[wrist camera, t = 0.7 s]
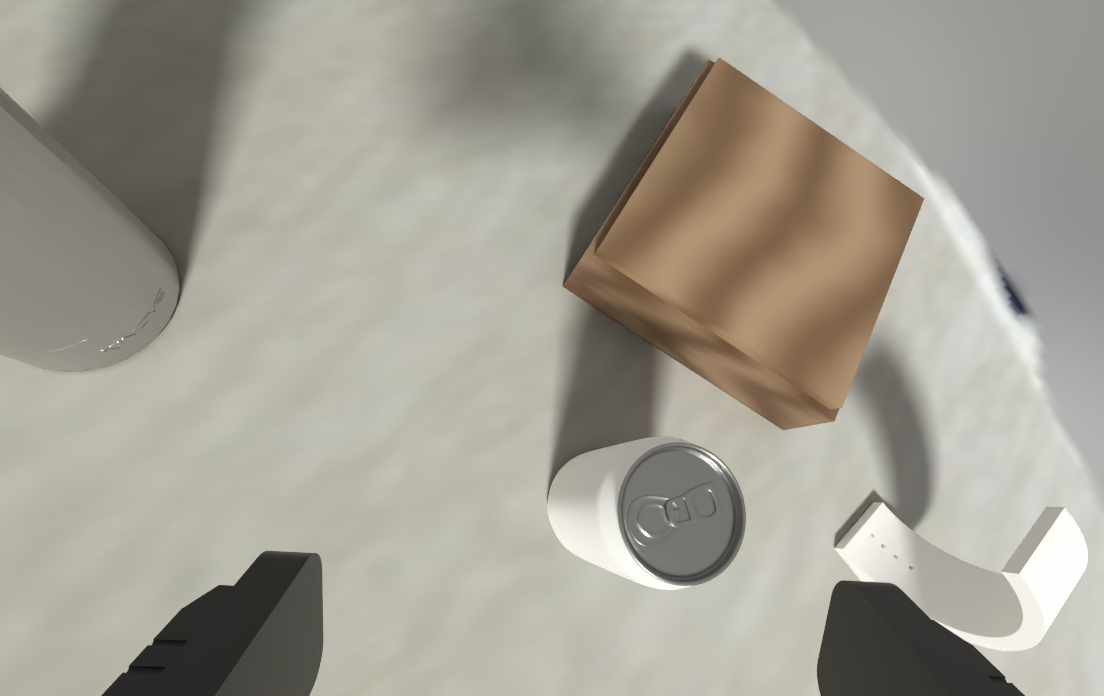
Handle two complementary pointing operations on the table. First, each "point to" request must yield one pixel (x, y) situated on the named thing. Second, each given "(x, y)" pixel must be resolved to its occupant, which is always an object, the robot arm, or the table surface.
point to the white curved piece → (974, 576)
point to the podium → (752, 249)
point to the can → (650, 511)
